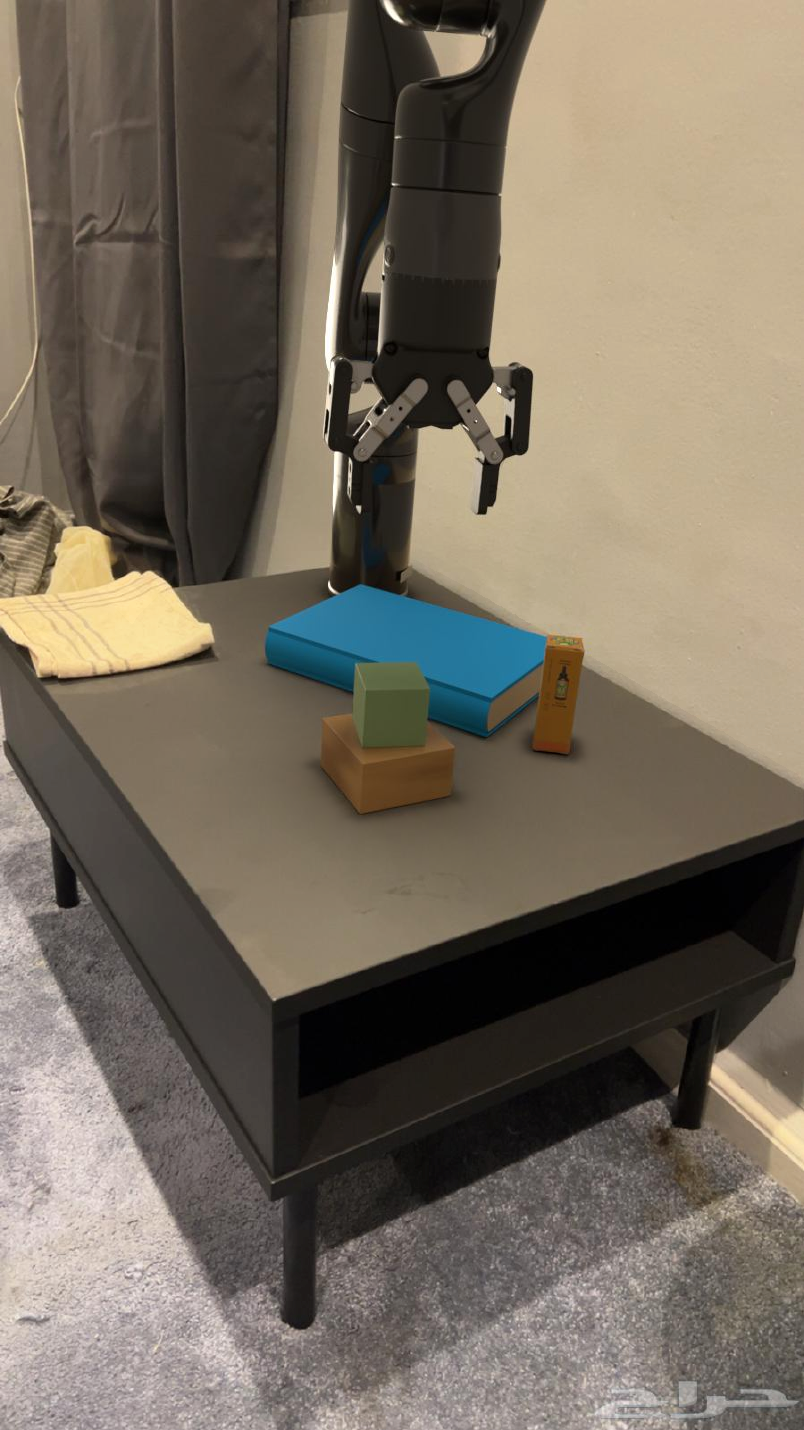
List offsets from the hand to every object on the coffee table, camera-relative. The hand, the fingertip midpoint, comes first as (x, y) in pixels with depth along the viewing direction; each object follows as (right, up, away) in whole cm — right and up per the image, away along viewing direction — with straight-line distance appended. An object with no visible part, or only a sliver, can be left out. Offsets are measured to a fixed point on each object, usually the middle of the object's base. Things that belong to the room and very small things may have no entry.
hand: (420, 511), depth 76 cm
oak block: (-3, -20, +10) cm, 23 cm away
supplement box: (+12, -18, +18) cm, 28 cm away
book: (0, -10, +30) cm, 32 cm away
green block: (-2, -16, +8) cm, 18 cm away
